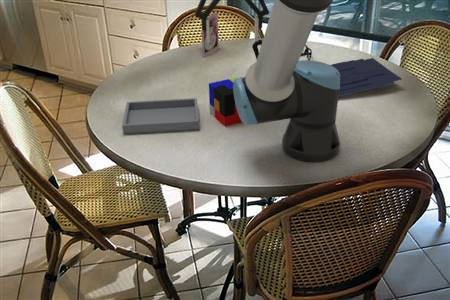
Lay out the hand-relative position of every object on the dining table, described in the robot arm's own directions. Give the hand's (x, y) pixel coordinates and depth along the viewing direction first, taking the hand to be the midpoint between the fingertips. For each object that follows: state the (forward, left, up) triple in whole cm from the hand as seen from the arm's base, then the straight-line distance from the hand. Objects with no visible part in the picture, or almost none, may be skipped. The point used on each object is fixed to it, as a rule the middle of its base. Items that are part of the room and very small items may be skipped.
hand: (232, 41), depth 137 cm
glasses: (+45, -25, -23) cm, 57 cm away
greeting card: (+56, +6, -23) cm, 61 cm away
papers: (+18, -41, -23) cm, 50 cm away
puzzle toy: (-2, +1, -23) cm, 23 cm away
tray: (-2, +22, -23) cm, 31 cm away
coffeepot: (+22, -16, -23) cm, 36 cm away
